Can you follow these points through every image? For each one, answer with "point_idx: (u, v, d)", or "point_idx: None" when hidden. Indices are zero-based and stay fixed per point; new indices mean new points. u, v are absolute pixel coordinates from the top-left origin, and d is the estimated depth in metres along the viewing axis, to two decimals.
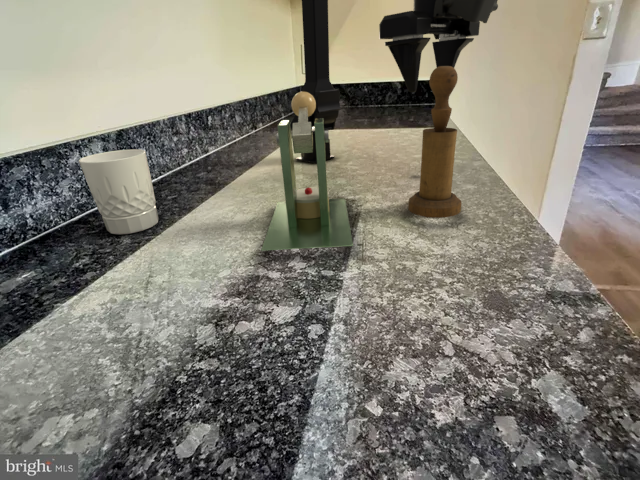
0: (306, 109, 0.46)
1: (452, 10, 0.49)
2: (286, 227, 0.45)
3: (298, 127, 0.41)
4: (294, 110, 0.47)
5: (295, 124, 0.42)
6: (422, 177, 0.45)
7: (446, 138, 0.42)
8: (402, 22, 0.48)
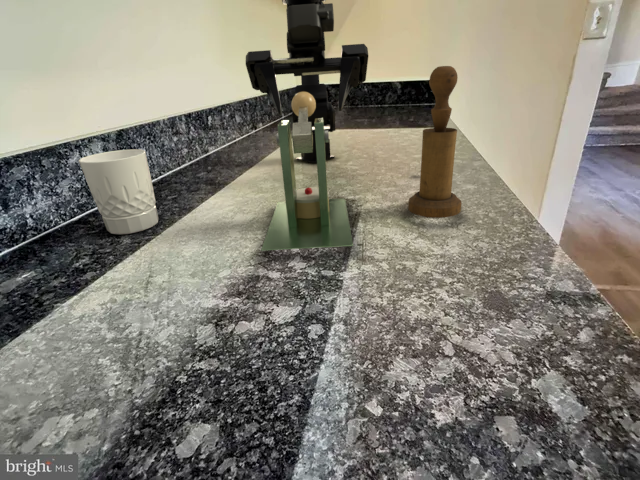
0: (306, 109, 0.46)
1: (289, 36, 0.54)
2: (286, 227, 0.45)
3: (298, 127, 0.41)
4: (294, 110, 0.47)
5: (295, 124, 0.42)
6: (422, 177, 0.45)
7: (446, 138, 0.42)
8: None
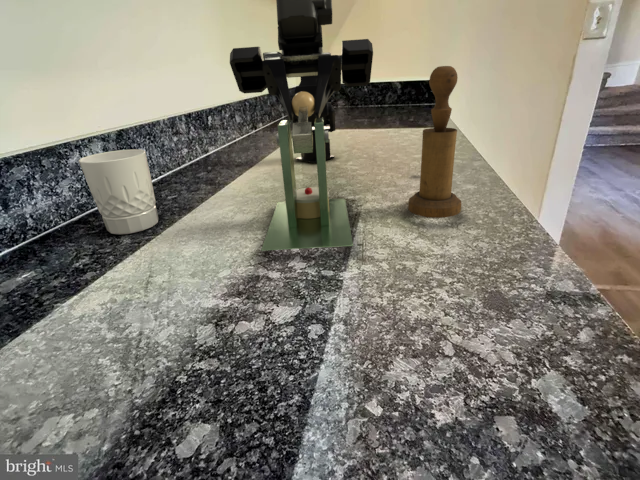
0: (306, 109, 0.46)
1: None
2: (286, 227, 0.45)
3: (298, 127, 0.41)
4: (294, 110, 0.47)
5: (295, 124, 0.42)
6: (422, 177, 0.45)
7: (446, 138, 0.42)
8: None
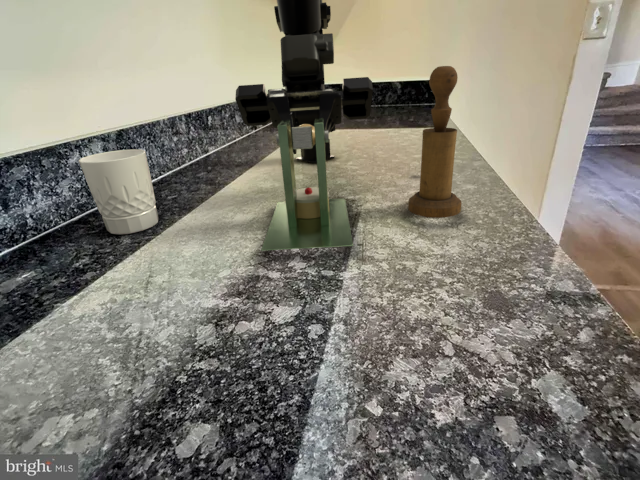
0: None
1: None
2: (286, 227, 0.45)
3: None
4: None
5: None
6: (422, 177, 0.45)
7: (446, 138, 0.42)
8: None
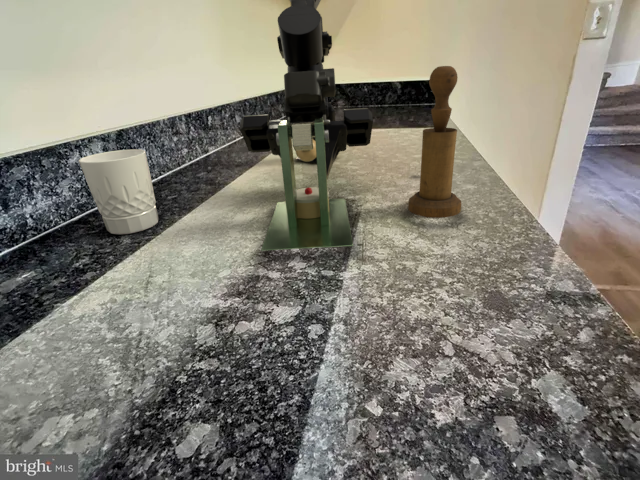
0: None
1: None
2: (286, 227, 0.45)
3: None
4: (297, 150, 0.49)
5: None
6: (422, 177, 0.45)
7: (446, 138, 0.42)
8: None
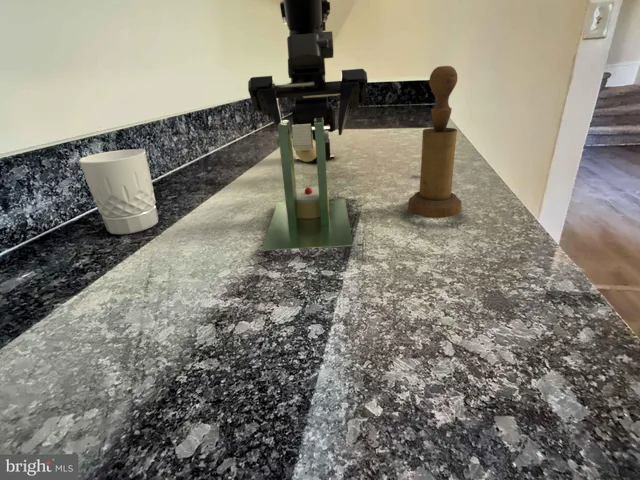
0: None
1: (290, 63, 0.56)
2: (286, 227, 0.45)
3: None
4: (297, 150, 0.49)
5: None
6: (422, 177, 0.45)
7: (446, 138, 0.42)
8: None
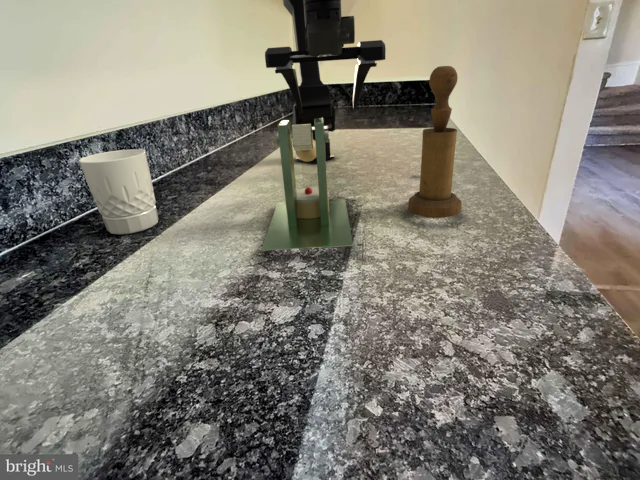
0: None
1: None
2: (286, 227, 0.45)
3: None
4: (297, 150, 0.49)
5: None
6: (422, 177, 0.45)
7: (446, 138, 0.42)
8: None
